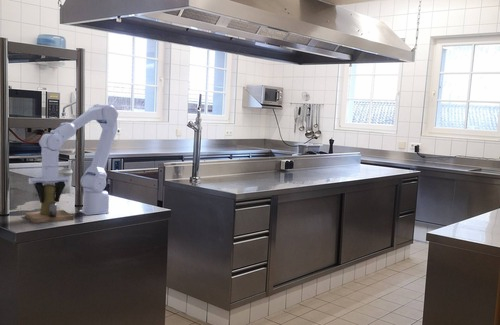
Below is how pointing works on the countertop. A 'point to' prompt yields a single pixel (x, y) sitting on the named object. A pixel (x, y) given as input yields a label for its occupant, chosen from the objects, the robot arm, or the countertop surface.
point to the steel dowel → (53, 209)
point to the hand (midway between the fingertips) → (49, 202)
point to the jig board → (39, 218)
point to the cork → (48, 199)
